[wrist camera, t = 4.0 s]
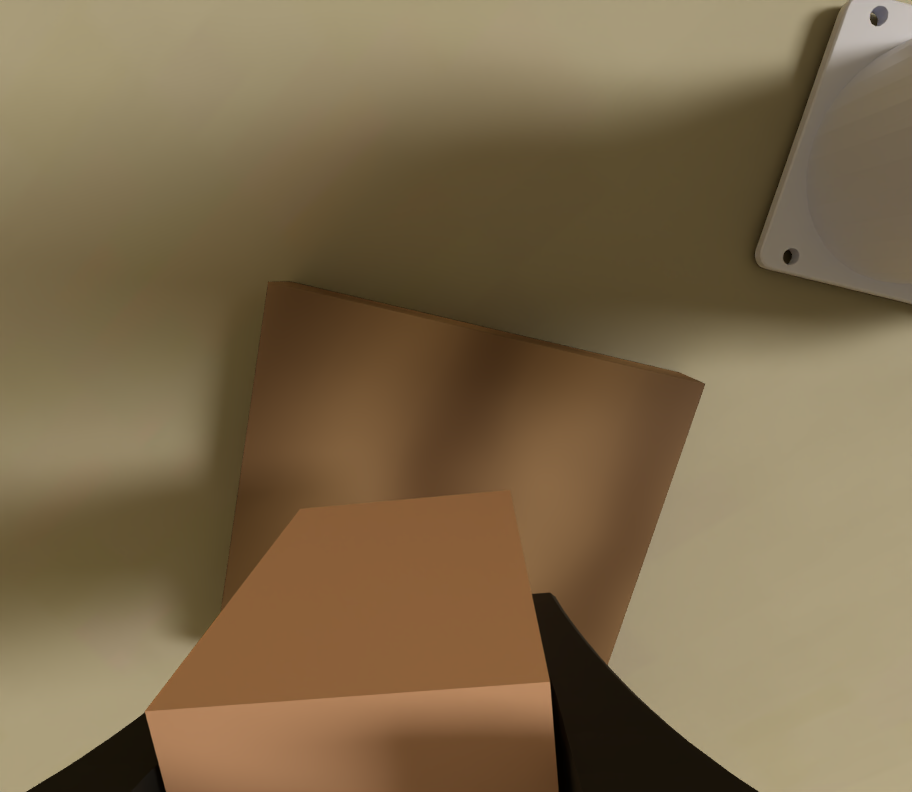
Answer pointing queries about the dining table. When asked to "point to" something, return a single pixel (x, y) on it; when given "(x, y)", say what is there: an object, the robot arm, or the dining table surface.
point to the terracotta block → (370, 661)
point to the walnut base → (461, 438)
